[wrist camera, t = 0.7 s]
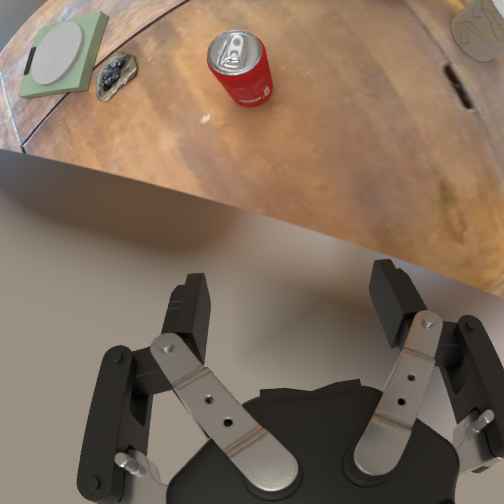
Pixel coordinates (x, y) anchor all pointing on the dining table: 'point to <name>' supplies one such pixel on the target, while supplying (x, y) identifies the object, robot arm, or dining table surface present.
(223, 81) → the beverage can
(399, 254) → the dining table surface
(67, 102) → the dining table surface
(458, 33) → the cup
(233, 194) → the dining table surface
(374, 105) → the dining table surface
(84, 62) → the scale
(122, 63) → the geode
